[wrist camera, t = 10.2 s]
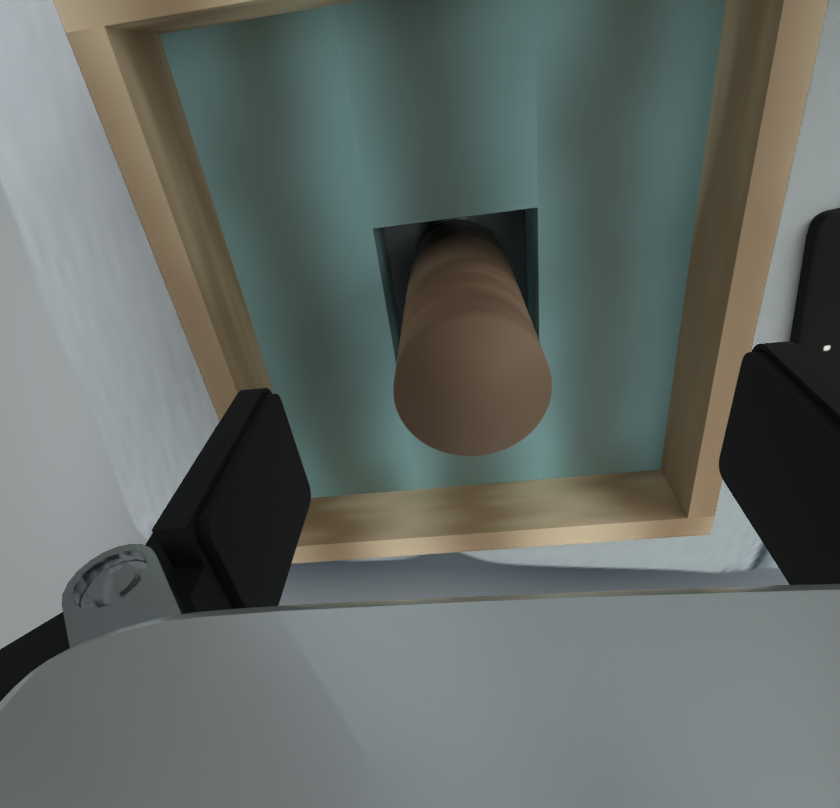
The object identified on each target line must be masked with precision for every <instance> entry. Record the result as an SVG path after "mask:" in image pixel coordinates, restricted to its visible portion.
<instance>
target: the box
mask: <svg viewBox="0 0 840 808" xmlns="http://www.w3.org/2000/svg"><path fill="white" fill-rule="evenodd" d="M828 1H829V0H53V2H54V5H55V7H56V10H57V12H58V15H59V17H60V20H61V22H62V25H63V27H64V30H65V32H66V35H67V37H68V40H69V43H70V45H71V48H72V50H73V53H74V55H75V58H76V60H77V63H78V65H79V68H80V70H81V73H82V75H83V78H84V80H85V83H86V85H87V88H88V90H89V93H90V95H91V98H92V100H93V103H94V106H95V108H96V111H97V113H98V116H99V118H100V121H101V123H102V126H103V128H104V131H105V133H106V136H107V138H108V141H109V143H110V146H111V148H112V151H113V153H114V156H115V158H116V161H117V163H118V166H119V169H120V171H121V174H122V176H123V179H124V181H125V184H126V186H127V189H128V191H129V194H130V196H131V199H132V201H133V204H134V206H135V209H136V211H137V214H138V216H139V219H140V221H141V224H142V226H143V229H144V232H145V234H146V237H147V239H148V242H149V244H150V247H151V249H152V252H153V254H154V257H155V259H156V262H157V264H158V267H159V269H160V272H161V274H162V277H163V279H164V282H165V284H166V287H167V289H168V292H169V295H170V297H171V300H172V302H173V305H174V307H175V310H176V312H177V315H178V317H179V320H180V322H181V325H182V327H183V330H184V332H185V335H186V337H187V340H188V342H189V345H190V347H191V350H192V353H193V355H194V358H195V360H196V363H197V365H198V368H199V370H200V373H201V375H202V378H203V380H204V383H205V385H206V388H207V390H208V393H209V395H210V398H211V400H212V403H213V405H214V408H215V410H216V413H217V416H218V418H219V421H221V419H222V417H223V416H224V414H225V413H226V411H227V409H228V408H229V406H230V405H231V403H232V401H233V400H234V398H235V397H236V395H237V393H238V392H239V391H240V390H247V389H258V388H268V389H269V390H270V391H271V392H272V394H278V395H279V396H280V398H281V400H282V403H283V406H284V409H285V412H286V415H287V419H288V422H289V425H290V428H291V431H292V434H293V437H294V440H295V443H296V446H297V449H298V452H299V455H300V458H301V461H302V464H303V467H304V470H305V473H306V476H307V479H308V482H309V485H310V490H311V502H310V506H309V509H308V512H307V515H306V518H305V522H304V525H303V528H302V531H301V534H300V538H299V541H298V544H297V547H296V550H295V554H294V557H293V560H292V563H308V562H322V561H336V560H351V559H365V558H380V557H394V556H408V555H423V554H437V553H452V552H466V551H481V550H495V549H509V548H524V547H538V546H553V545H567V544H581V543H596V542H610V541H625V540H639V539H653V538H668V537H682V536H697V535H710V534H711V529H712V525H713V520H714V516H715V511H716V507H717V502H718V498H719V493H720V489H721V484H722V480H723V479H722V477H721V474H720V471H719V457H720V453H721V449H722V444H723V440H724V436H725V431H726V427H727V423H728V418H729V414H730V410H731V405H732V401H733V397H734V392H735V388H736V384H737V379H738V375H739V371H740V366H741V362H742V359H743V356H744V355H745V354H746V353H748V352H751V349H752V344H753V340H754V335H755V331H756V326H757V321H758V317H759V312H760V308H761V303H762V299H763V294H764V290H765V285H766V281H767V276H768V272H769V267H770V263H771V258H772V254H773V249H774V245H775V240H776V236H777V231H778V227H779V222H780V218H781V213H782V209H783V204H784V200H785V195H786V191H787V186H788V182H789V177H790V172H791V168H792V163H793V159H794V154H795V150H796V145H797V141H798V136H799V132H800V127H801V123H802V118H803V114H804V109H805V105H806V100H807V96H808V91H809V87H810V82H811V78H812V73H813V69H814V64H815V60H816V55H817V51H818V46H819V42H820V37H821V33H822V28H823V23H824V19H825V14H826V10H827V5H828ZM522 209H526V251H527V292H528V313H529V316H530V318H531V321H532V324H533V326H534V329H535V331H536V334H537V337H538V339H539V342H540V345H541V347H542V350H543V352H544V355H545V358H546V360H547V363H548V366H549V368H550V373H551V377H552V394H551V399H550V403H549V406H548V408H547V411H546V413H545V415H544V417H543V418H542V420H541V421H540V423H539V424H538V425H537V427H536V428H535V429H534V430H533V431H532V432H531V433H530V434H529V435H528V436H526V437H525V438H524V439H523V440H521V441H520V442H518V443H516V444H515V445H513V446H511V447H509V448H507V449H505V450H502V451H499V452H496V453H492V454H488V455H481V456H458V455H452V454H448V453H444V452H441V451H438V450H436V449H434V448H431V447H430V446H428V445H426V444H424V443H423V442H421V441H420V440H419V439H417V438H416V437H415V436H414V435H413V434H412V433H411V432H410V431H409V430H408V429H407V428H406V426H405V425H404V424H403V422H402V420H401V419H400V417H399V414H398V412H397V410H396V406H395V402H394V395H393V387H394V377H395V370H396V363H397V356H398V349H399V342H400V335H401V332H400V326H399V320H398V313H397V307H396V301H395V295H394V289H393V283H392V277H391V270H390V264H389V258H388V252H387V246H386V240H385V234H384V227H389V226H396V225H404V224H412V223H420V222H428V221H436V220H443V219H451V218H459V217H467V216H475V215H482V214H490V213H498V212H506V211H514V210H522ZM292 563H291V564H292Z"/></svg>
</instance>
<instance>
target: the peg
mask: <svg viewBox="0 0 840 808" xmlns="http://www.w3.org/2000/svg"><path fill="white" fill-rule="evenodd" d="M551 394H552V377H551V373H550V368H549V366H548V363H547V360H546V358H545V355H544V352H543V350H542V347H541V345H540V342H539V339H538V337H537V334H536V331H535V329H534V326H533V324H532V321H531V318H530V316H529V313H528V310H527V308H526V305H525V303H524V300H523V297H522V295H521V292H520V289H519V287H518V284H517V282H516V279H515V276H514V274H513V271H512V268H511V266H510V263H509V261H508V258H507V255H506V253H505V250H504V248H503V245H502V244H501V242H500V240H499V239H498V238H497V236H496V235H495V234H494V233H493V232H492V231H491V230H489V229H488V228H486V227H485V226H483V225H481V224H479V223H476V222H473V221H468V220H453V221H448V222H445V223H442V224H440V225H438V226H436V227H434V228H433V229H431V230H430V231H428V232H427V233H426V234H425V235H424V236H423V237H422V238H421V240H420V241H419V243H418V244H417V246H416V248H415V250H414V253H413V256H412V260H411V266H410V273H409V280H408V287H407V294H406V301H405V308H404V315H403V322H402V329H401V335H400V342H399V349H398V356H397V363H396V370H395V377H394V387H393V395H394V402H395V406H396V410H397V412H398V414H399V417H400V419H401V420H402V422H403V424H404V425H405V426H406V428H407V429H408V430H409V431H410V432H411V433H412V434H413V435H414V436H415V437H416V438H417V439H419V440H420V441H421V442H423V443H424V444H426V445H428V446H430V447H431V448H434V449H436V450H438V451H441V452H444V453H448V454H452V455H458V456H481V455H488V454H492V453H496V452H499V451H502V450H505V449H507V448H509V447H511V446H513V445H515V444H516V443H518V442H520V441H521V440H523V439H524V438H525V437H526V436H528V435H529V434H530V433H531V432H532V431H533V430H534V429H535V428H536V427H537V425H538V424H539V423H540V421H541V420H542V418H543V417H544V415H545V413H546V411H547V408H548V406H549V403H550V399H551Z"/></svg>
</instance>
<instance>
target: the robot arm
mask: <svg viewBox="0 0 840 808" xmlns="http://www.w3.org/2000/svg"><path fill="white" fill-rule="evenodd" d="M719 471H720V474H721V477H722V479H723V480H724V482H725V484H726V485H727V487H728V488H729V490H730V491H731V493H732V495H733V496H734V498H735V499H736V501H737V502H738V504H739V506H740V507H741V509H742V510H743V512H744V513H745V515H746V517H747V518H748V520H749V521H750V523H751V524H752V526H753V528H754V529H755V531H756V532H757V534H758V535H759V537H760V539H761V540H762V542H763V543H764V545H765V546H766V548H767V550H768V551H769V553H770V554H771V556H772V557H773V559H774V561H775V562H776V564H777V565H778V567H779V568H780V570H781V572H782V573H783V575H784V576H785V578H786V579H787V581H788V583H789V584H790V585H775V586H747V587H717V588H691V589H690V588H689V589H662V590H661V589H659V590H631V591H606V592H580V593H555V594H554V593H553V594H528V595H503V596H479V597H454V598H432V599H411V600H388V601H368V602H367V601H366V602H345V603H322V604H304V605H287V606H278V604H279V601H280V598H281V595H282V592H283V589H284V585H285V582H286V579H287V576H288V572H289V569H290V566H291V563H292V560H293V557H294V554H295V550H296V547H297V544H298V541H299V538H300V534H301V531H302V528H303V525H304V522H305V518H306V515H307V512H308V509H309V506H310V502H311V490H310V485H309V482H308V479H307V476H306V473H305V470H304V467H303V464H302V461H301V458H300V455H299V452H298V449H297V446H296V443H295V440H294V437H293V434H292V431H291V428H290V425H289V422H288V419H287V415H286V412H285V409H284V406H283V403H282V400H281V398H280V396H279V395H278V394H272V392H271V391H270V390H269V389H268V388H258V389H247V390H240V391H239V392H238V393H237V395H236V397H235V398H234V400H233V401H232V403H231V405H230V406H229V408H228V409H227V411H226V413H225V414H224V416H223V417H222V419H221V421H220V422H219V424H218V425H217V427H216V429H215V430H214V432H213V433H212V435H211V436H210V438H209V440H208V441H207V443H206V444H205V446H204V448H203V449H202V451H201V452H200V454H199V456H198V457H197V459H196V460H195V462H194V464H193V465H192V467H191V468H190V470H189V472H188V473H187V475H186V476H185V478H184V479H183V481H182V483H181V484H180V486H179V487H178V489H177V491H176V492H175V494H174V495H173V497H172V499H171V500H170V502H169V503H168V505H167V507H166V508H165V510H164V511H163V513H162V515H161V516H160V518H159V519H158V521H157V523H156V524H155V526H154V527H153V529H152V532H153V534H152V535H151V537H150V538H149V540H148V542H147V543H146V545H142V544H128V545H123V546H119V547H116V548H114V549H111V550H108V551H106V552H104V553H102V554H100V555H99V556H97V557H95V558H94V559H92V560H90V561H89V562H88V563H87V564H85V565H84V566H83V567H82V568H81V569H80V570H78V571H77V572H76V574H75V575H74V576H73V577H72V578H71V580H70V581H69V582H68V584H67V586H66V588H65V590H64V592H63V595H62V608H63V612H62V613H60V614H59V615H57V616H55V617H54V618H52V619H50V620H49V621H47V622H45V623H44V624H42V625H40V626H39V627H37V628H35V629H34V630H32V631H30V632H29V633H27V634H25V635H24V636H22V637H20V638H19V639H17V640H15V641H14V642H12V643H11V644H9V645H7V646H5V647H4V648H2V649H1V650H0V808H840V380H838V379H837V378H836V377H835V376H834V375H832V374H831V373H830V372H829V371H828V370H827V369H825V368H824V367H823V366H822V365H821V364H819V363H818V362H817V361H816V360H815V359H814V358H812V357H811V356H810V355H809V354H808V353H806V352H805V351H804V350H803V349H802V348H801V347H799V346H798V345H797V344H796V343H794V342H777V343H766V344H758V345H756V346H755V347H754V348H753V350H752V352H748V353H746V354H745V355H744V356H743V359H742V362H741V366H740V371H739V375H738V379H737V384H736V388H735V392H734V397H733V401H732V405H731V410H730V414H729V418H728V423H727V427H726V431H725V436H724V440H723V444H722V449H721V453H720V457H719Z"/></svg>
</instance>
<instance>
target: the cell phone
mask: <svg viewBox="0 0 840 808" xmlns="http://www.w3.org/2000/svg"><path fill="white" fill-rule="evenodd" d="M790 342H794V343H796V344H797V345H798V346H799V347H801V348H802V349H803V350H804V351H805V352H806V353H808V354H809V355H810V356H811V357H812V358H814V359H815V360H816V361H817V362H818V363H819V364H821V365H822V366H823V367H824V368H825V369H827V370H828V371H829V372H830V373H831V374H832V375H834V376H835V377H836V378H837V379H838V380H840V208H837V209H833V210H828V211H825V212H822V213H820V214H818V215H817V216H816V217H815V218H814V219H813V220H812V222H811V224H810V226H809V230H808V233H807V237H806V242H805V249H804V255H803V261H802V268H801V274H800V281H799V287H798V294H797V300H796V306H795V313H794V319H793V326H792V332H791V339H790Z"/></svg>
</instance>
